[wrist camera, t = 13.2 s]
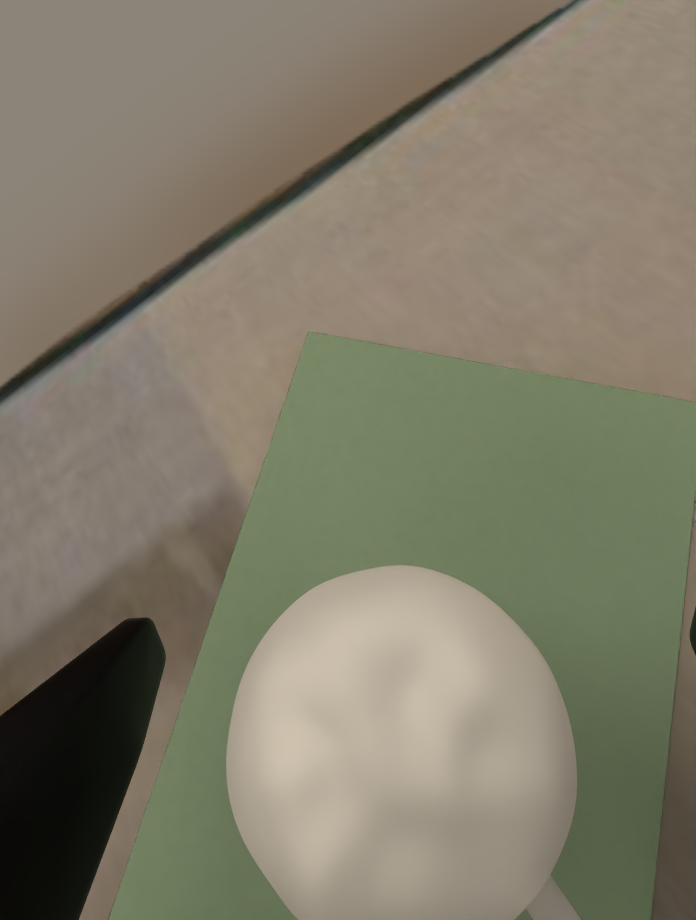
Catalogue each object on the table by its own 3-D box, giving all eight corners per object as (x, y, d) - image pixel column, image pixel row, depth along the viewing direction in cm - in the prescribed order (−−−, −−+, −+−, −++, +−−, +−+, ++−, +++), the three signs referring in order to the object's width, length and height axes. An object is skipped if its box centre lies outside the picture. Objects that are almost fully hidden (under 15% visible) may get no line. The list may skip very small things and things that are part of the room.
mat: (607, 1256, 11) (614, 1279, 10) (90, 985, 13) (81, 996, 13) (699, 408, 16) (706, 403, 15) (310, 336, 19) (307, 330, 18)
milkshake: (442, 835, 13) (491, 1395, 4) (297, 679, 15) (73, 786, 5) (551, 696, 14) (841, 868, 4) (401, 561, 15) (367, 467, 6)
